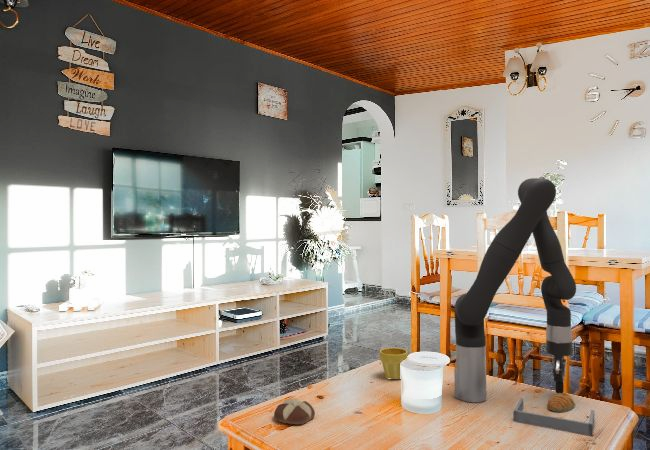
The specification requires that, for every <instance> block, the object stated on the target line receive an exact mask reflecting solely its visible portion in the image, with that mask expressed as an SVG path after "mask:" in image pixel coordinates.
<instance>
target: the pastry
mask: <svg viewBox="0 0 650 450" xmlns="http://www.w3.org/2000/svg"><path fill="white" fill-rule="evenodd" d="M576 405H577V404H576V402H575V400H574V399H573V397H572V396H571V395H570V394H569V393H566V392H563V393H556V394H555V395H551V396H550V398H549V399H548V400H547V404H546V406H547V407H546V408H547V410H551V411H554V412H558V413H562V412H569V411H570V410H572V409H574V408H575V407H576Z"/></svg>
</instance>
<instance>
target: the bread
mask: <svg viewBox="0 0 650 450" xmlns="http://www.w3.org/2000/svg"><path fill="white" fill-rule="evenodd" d="M315 415H316V412H315V409H314V407H313V405H311V403H309V402H308V401H305V400H303V401H302V400H300V399H298V398H289V399H285V400H284V401H283V402H282V403H280V404H278V405H277V406H276V408H275V410H274V414H273V417H274V419H275V420H276V421H277V422H278V421H279V422H278V423H281V422H282V423H281V424H287V423H288V424H287V425H292V424H302V425H305V424H306V423H307V422H309V421H311V420H313V418H314V417H315ZM304 423H305V424H304Z"/></svg>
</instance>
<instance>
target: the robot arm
mask: <svg viewBox="0 0 650 450" xmlns="http://www.w3.org/2000/svg"><path fill="white" fill-rule="evenodd" d="M556 195H557V189H556V186H555V184H554V183H553V182H552V180H549V179H547V178H541V177H539V178H537V177H534V178H532V177H531V178H527V179H525V180H523V181H522V182H521V183H520V184H519V186H518V190H517V196H518V199H519V201H520V205H519V207H518V208H517V211H516V212H515V213H514V216H512V218H511V219H510V220H509V221H508V222H507V223H506V224H505V225H504V226H503V227H502V228H501V229H500V231H499V232H498V233H496V234H495V236H494V238H493V239H492V241H491V242H490V244H489V246H488V248H487V249H486V252H485V253H484V256H483V258H482V261H481V264H480V266H479V270H478V273H477V275H476V278H475V280H474V282H473V283H472V285H471V287H470V288H469V290H468V291H467V292H466V293H463V294H462V295H460V296H459V297H458V298H457V299H456V301H455V304H454V333H455V357H456V358H455V362H456V363H455V367H454V371H453V372H454V373H453V375H454V398H455V399H458V400H460V401H463V402H468V403H483V402H485V401H486V400H487V392H488V391H487V359H486V358H487V355H486V354H487V351H486V350H487V345H486V343H487V341H486V340H487V339H486V332H485V331H486V330H485V319H486V316H487V314H488V311H489V310H490V307H491V304H492V303H493V300H494V298H495V296H496V294H497V293H498V290H499V289H500V287H501V285H502V284H503V283H504V281H505V280H506V279H507V277H508V275H509V274H510V272H511V271H512V269H513V268H514V266H515V264H516V262H517V261H518V259H519V257H520V256H521V254H522V252H523V250H524V248H525V247H526V244H527V243H528V241H529V239H530V237H532V235H533V239H534V242H535V246H536V250H537V255H538V259H539V264H540V267H541V269H542V270H543V271H544V272H546V273H548V274H550V275H547V276H546V277H545V278H543V280H542V282H541V286H540V291H541V292H540V293H541V296H542V299H543V304H544V307H545V311H546V329H545V345H546V347H545V349H546V353H547V354H549V355H552V356H554V357H553V358H552V360H551V366H552V374H553V381H554V382H555V393H556V394H558V393H565V392H564V387H565V385H564V382H565V377H566V373H567V368H566V367H567V358H565V357H570V356H572V355H573V331H572V312H571V311H572V310H571V309H570V308H569V307H567V306H566V305H564V304H563V302H562V301H563V300H564V301H568V300H571V299H573V298H574V297H575V295H576V293H577V284H576V281H575V279H574V277H573V275H572V273H571V271H570V269H569V267H568V266H567V263H566V262H565V258H564V254H563V249H562V246H561V245H562V244H561V242H560V240H559V238H558V236H557V235H558V234H557V233H556V232H555V230H554V227H553V225H552V224H551V221H550V218H549V215H548V209H550V207H551V206H552V204H553V203H554V201H555V198H556V197H557V196H556Z"/></svg>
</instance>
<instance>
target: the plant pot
mask: <svg viewBox="0 0 650 450" xmlns="http://www.w3.org/2000/svg"><path fill="white" fill-rule="evenodd" d="M407 356H408V357H409V352H408V350H407V349H405V348H402V347H386V348H381V349H380V350H379V360H380V362H381V363H382V367H383V368H382V369H383V373H384V377H385V376H386V377H387V378H391V379H400V363H401V362H402V361H403V360H405V359H406V358H407ZM386 377H385V378H386ZM387 378H386V379H387ZM400 380H401V379H400Z"/></svg>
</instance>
